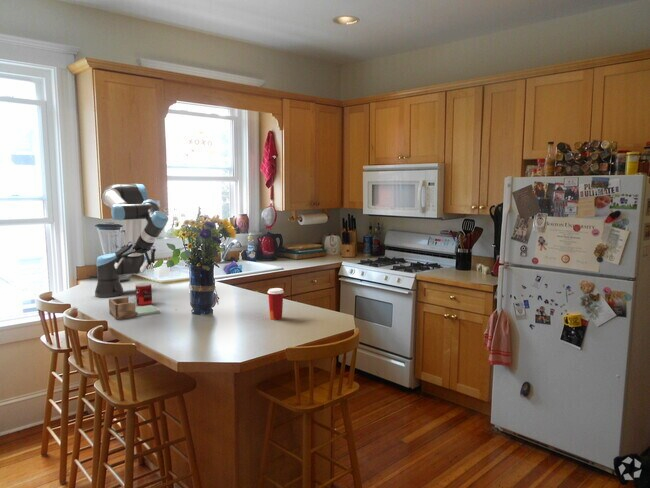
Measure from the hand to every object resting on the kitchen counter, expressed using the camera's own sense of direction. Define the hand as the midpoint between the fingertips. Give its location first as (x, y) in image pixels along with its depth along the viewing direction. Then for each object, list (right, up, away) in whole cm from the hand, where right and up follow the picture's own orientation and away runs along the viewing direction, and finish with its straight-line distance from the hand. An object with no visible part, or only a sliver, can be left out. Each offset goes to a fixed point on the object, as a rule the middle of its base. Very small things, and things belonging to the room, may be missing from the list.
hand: (128, 268), depth 252 cm
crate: (+6, -22, -6) cm, 23 cm away
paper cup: (+77, -23, -16) cm, 82 cm away
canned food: (+4, -20, +11) cm, 23 cm away
